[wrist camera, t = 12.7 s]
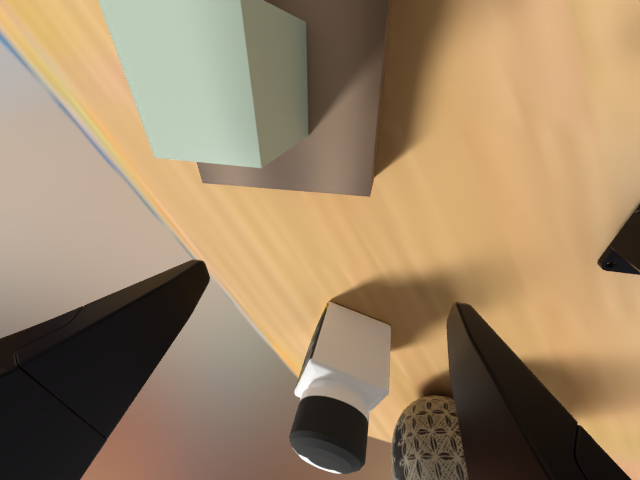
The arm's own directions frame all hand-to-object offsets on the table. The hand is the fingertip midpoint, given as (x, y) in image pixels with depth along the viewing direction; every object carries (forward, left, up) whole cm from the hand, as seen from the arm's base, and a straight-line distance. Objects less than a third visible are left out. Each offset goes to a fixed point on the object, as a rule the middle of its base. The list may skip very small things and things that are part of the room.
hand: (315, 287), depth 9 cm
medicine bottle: (0, +18, -12) cm, 22 cm away
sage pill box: (+5, -6, -8) cm, 12 cm away
